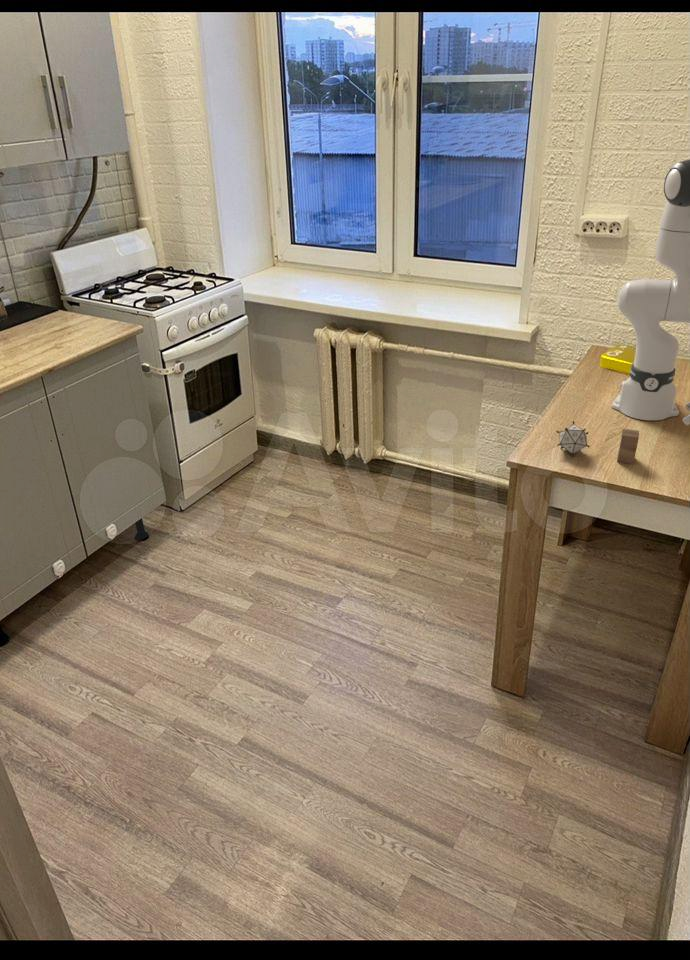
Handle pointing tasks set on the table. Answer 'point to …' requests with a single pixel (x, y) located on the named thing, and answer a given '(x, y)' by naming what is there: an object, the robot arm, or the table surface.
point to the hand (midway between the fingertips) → (685, 415)
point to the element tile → (618, 359)
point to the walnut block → (628, 446)
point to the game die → (573, 438)
